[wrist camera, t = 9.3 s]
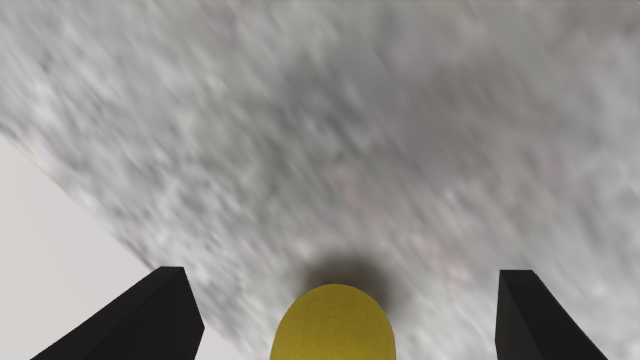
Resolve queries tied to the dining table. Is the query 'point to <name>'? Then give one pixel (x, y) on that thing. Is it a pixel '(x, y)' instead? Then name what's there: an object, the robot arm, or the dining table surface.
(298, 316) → the lemon
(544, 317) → the robot arm
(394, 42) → the dining table surface
